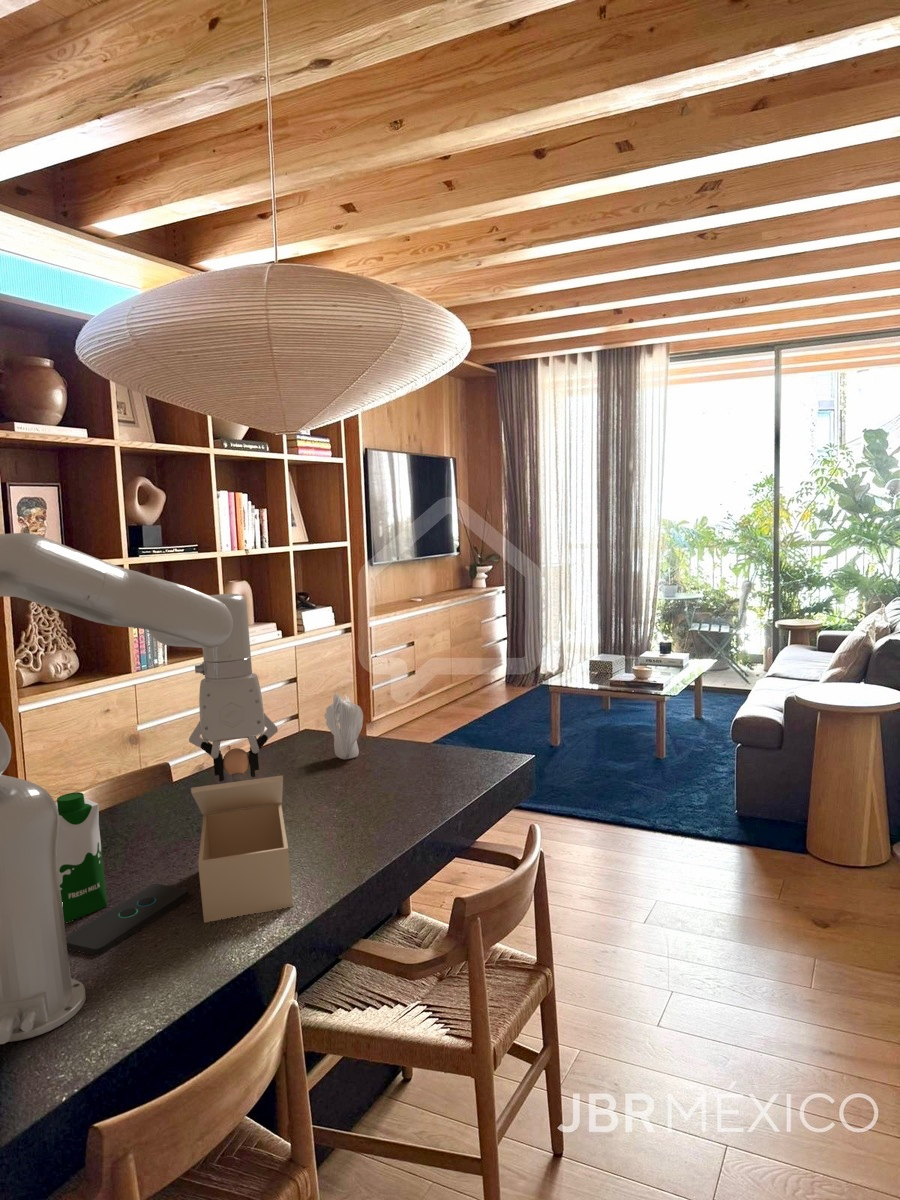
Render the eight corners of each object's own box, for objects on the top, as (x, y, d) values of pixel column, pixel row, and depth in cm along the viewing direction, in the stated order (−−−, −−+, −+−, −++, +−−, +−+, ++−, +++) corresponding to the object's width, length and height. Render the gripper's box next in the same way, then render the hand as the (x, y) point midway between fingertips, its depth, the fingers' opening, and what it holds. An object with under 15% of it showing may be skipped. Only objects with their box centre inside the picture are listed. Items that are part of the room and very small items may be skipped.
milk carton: (63, 927, 130) (49, 807, 128) (38, 912, 135) (24, 797, 133) (115, 905, 136) (103, 791, 134) (89, 892, 142) (77, 782, 140)
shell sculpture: (352, 750, 219) (347, 685, 217) (367, 757, 212) (362, 690, 210) (324, 757, 214) (319, 691, 212) (339, 764, 207) (334, 695, 205)
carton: (293, 906, 132) (288, 848, 131) (204, 922, 129) (198, 862, 127) (285, 854, 153) (281, 803, 152) (208, 866, 150) (203, 814, 149)
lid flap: (283, 780, 132) (279, 739, 135) (191, 792, 129) (188, 751, 131) (282, 802, 152) (278, 767, 155) (202, 814, 149) (200, 777, 151)
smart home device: (191, 888, 138) (98, 948, 120) (192, 898, 138) (99, 959, 120) (154, 882, 142) (58, 939, 123) (154, 891, 142) (59, 950, 124)
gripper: (172, 678, 127) (183, 791, 129) (281, 667, 131) (290, 776, 133) (176, 670, 134) (186, 777, 136) (279, 660, 139) (287, 764, 140)
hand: (237, 775), depth 135 cm, fingers closed on lid flap, 4 cm apart
